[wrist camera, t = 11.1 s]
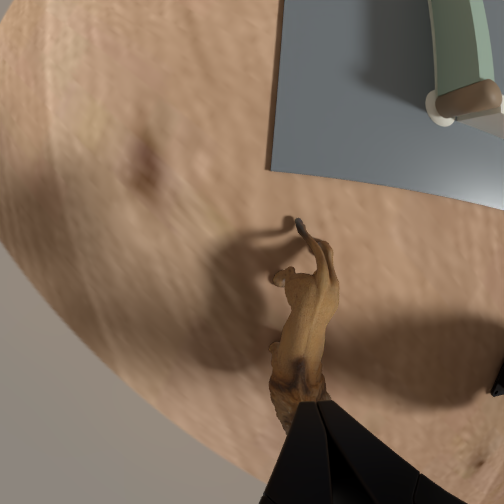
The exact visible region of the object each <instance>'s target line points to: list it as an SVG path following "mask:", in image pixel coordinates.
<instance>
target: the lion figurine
mask: <svg viewBox="0 0 504 504" xmlns="http://www.w3.org/2000/svg"><path fill="white" fill-rule="evenodd" d="M295 223H296V227H297V230H298V233H299V234H300V235H301V236H302V237H303V239H304V240H305V241H306V242H307V243H308V245H309V246H310V247H311V249H312V251H313V253H314V255H315V258H316V263H317V270H316V271H315V272H314V274H313V275H310V274H305V273H298V274H296V273H295V268H294V267H288V268H287V269H285V270H281V271H279V272H278V273H276V275H275V276H274V278H273V282H274V284H275V286H278V287H285V294H286V297H287V300H288V303H289V305H290V306H291V310H292V311H291V314H290V316H289V318H288V320H287V321H286V323H285V325H284V328H283V331H282V336H281V341H280V342H274V343H272V344H271V345H270V346H269V351H270V352H271V353H272V361H271V365H272V368H273V370H272V375H271V378H270V381H269V390H270V392H271V393H270V395H271V401H272V403H273V405H274V406H275V411H276V412H277V413H276V415H277V417H278V419H279V420H280V422H281V424H282V426H283V429H284V430H285V432H286V435H287V434H288V431H289V429H290V426H291V423H292V421H293V418H294V415H295V412H296V409H297V407H298V404H299V402H302V401H314V402H317V401H320V400H331V397H330V395H329V394H328V393H327V391H326V383H325V378H324V376H323V374H322V364H321V362H320V361H321V358H322V355H323V351H324V344H325V329H326V326H327V324H328V322H329V321H330V319H331V318H332V316H333V315H334V313H335V311H336V310H337V307H338V304H339V281H338V279H337V276H336V273H335V270H334V267H333V250H332V248H331V247H330V245H329V243H328V242H326V241H319V242H318V243H317V242H316V241H315V240H314V239H313V238H312V237H311V236H310V235H309V234H308V232H307V230H306V228H305V225H304V224H303V222H302V220H301V219H300V218H296V219H295Z"/></svg>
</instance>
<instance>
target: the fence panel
mask: <svg viewBox="0 0 504 504" xmlns="http://www.w3.org/2000/svg"><path fill="white" fill-rule="evenodd" d="M431 3H432V10H433V19H434V29H435V40H436V55H437V81H438V97H437V99H436V101H435V107H436V110H437V112H438V113H439V115H440V116H442V117H443V118H447V119H448V118H452V117H456V116H461V115H465V114H469V113H474V112H478V111H483V110H488V109H492V108H497V107H499V106H500V105H501V103H502V94H501V91H500V88H499V87H498V85H497V84H496V83H495V80H494V68H493V59H492V50H491V43H490V36H489V30H488V24H487V19H486V14H485V9H484V4H483V0H431Z"/></svg>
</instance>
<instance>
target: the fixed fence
mask: <svg viewBox="0 0 504 504" xmlns="http://www.w3.org/2000/svg"><path fill="white" fill-rule="evenodd" d="M457 122H460V123H463V124H466V125H468V126H471V127H474V128H477V129H479V130H482V131H484V132H487V133H490V134H492V135H495V136H497V137H500V138H502V139H504V95H502V103H501V105H500V106H499V107H497V108H492V109H488V110H483V111H478V112H474V113H469V114H465V115H461V116H457Z"/></svg>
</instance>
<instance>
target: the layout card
mask: <svg viewBox="0 0 504 504" xmlns="http://www.w3.org/2000/svg"><path fill="white" fill-rule="evenodd" d="M483 4H484V9H485V14H486V19H487V24H488V30H489V36H490V43H491V50H492V59H493V68H494V80H495V83H496V84H497V85H498V87H499V88H500V91H501V94H502V95H504V0H483ZM437 97H438V81H437V55H436V40H435V29H434V19H433V10H432V3H431V0H284V13H283V27H282V40H281V53H280V65H279V78H278V90H277V102H276V114H275V126H274V138H273V149H272V161H271V171H276V172H286V173H295V174H304V175H313V176H321V177H329V178H336V179H344V180H351V181H358V182H365V183H371V184H377V185H384V186H390V187H396V188H401V189H407V190H412V191H418V192H423V193H428V194H433V195H439V196H443V197H448V198H453V199H458V200H462V201H467V202H471V203H476V204H480V205H484V206H488V207H492V208H497V209H501V210H504V139H502V138H500V137H497V136H495V135H492V134H490V133H487V132H484V131H482V130H479V129H477V128H474V127H471V126H468V125H466V124H463V123H460V122H457V116H456V117H452V118H448V119H447V118H443V117H442V116H440V115H439V113H438V112H437V110H436V107H435V101H436V99H437Z"/></svg>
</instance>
